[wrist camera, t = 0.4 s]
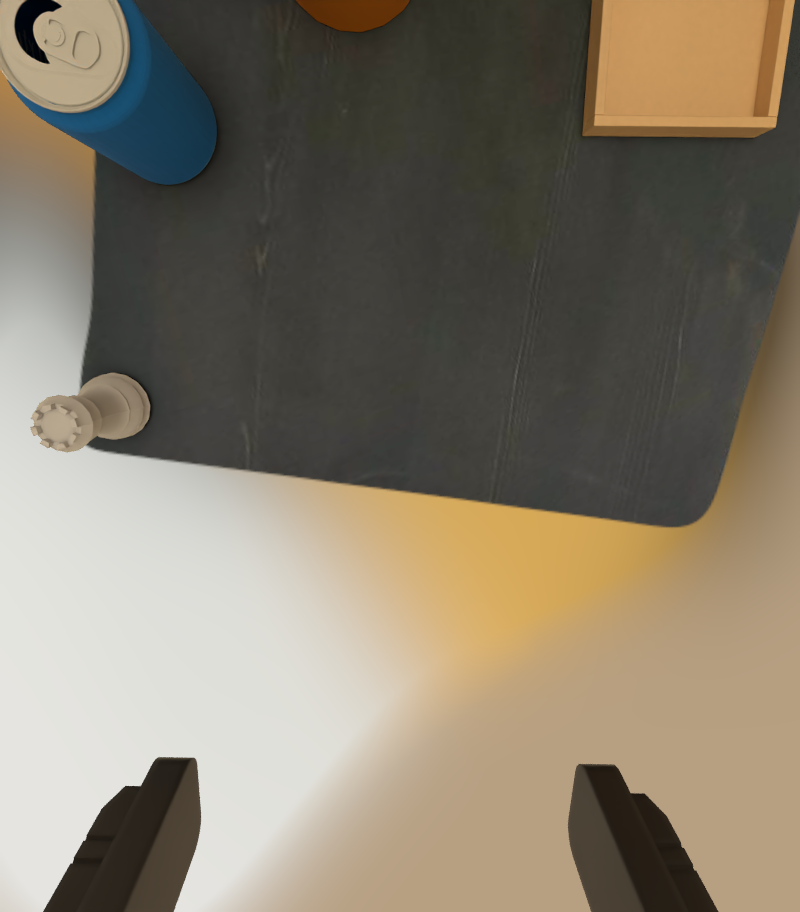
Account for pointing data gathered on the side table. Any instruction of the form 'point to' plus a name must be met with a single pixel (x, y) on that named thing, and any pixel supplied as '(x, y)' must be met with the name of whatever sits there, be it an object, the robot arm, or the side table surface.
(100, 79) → the beverage can
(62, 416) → the rook chess piece
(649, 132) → the tray
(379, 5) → the mug
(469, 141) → the side table surface
